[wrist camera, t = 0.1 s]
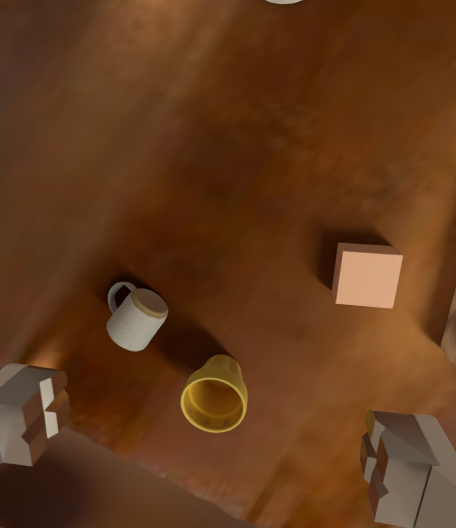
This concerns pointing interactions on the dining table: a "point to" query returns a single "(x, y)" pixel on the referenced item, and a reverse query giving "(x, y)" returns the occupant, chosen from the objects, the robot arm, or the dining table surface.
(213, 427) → the plant pot
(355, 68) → the dining table surface
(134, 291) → the ceramic mug
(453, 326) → the white segmented block row
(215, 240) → the dining table surface
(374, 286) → the peach block
